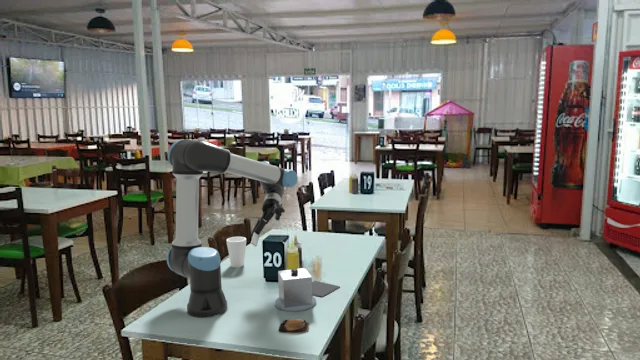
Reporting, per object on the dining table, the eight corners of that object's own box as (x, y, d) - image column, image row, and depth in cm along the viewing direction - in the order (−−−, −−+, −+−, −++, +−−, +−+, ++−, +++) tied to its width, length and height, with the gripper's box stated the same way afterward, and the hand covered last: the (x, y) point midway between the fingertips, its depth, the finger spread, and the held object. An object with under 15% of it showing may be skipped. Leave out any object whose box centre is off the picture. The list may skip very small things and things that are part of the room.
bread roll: (309, 324, 182) (309, 314, 182) (308, 334, 174) (308, 324, 173) (280, 324, 182) (279, 314, 182) (277, 334, 174) (277, 324, 174)
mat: (322, 297, 205) (322, 296, 205) (296, 290, 212) (296, 290, 212) (339, 287, 215) (339, 286, 215) (315, 281, 223) (315, 280, 223)
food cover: (312, 304, 195) (311, 272, 193) (284, 307, 193) (283, 276, 191) (305, 294, 206) (304, 264, 204) (279, 297, 203) (277, 267, 201)
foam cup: (249, 262, 252) (248, 236, 250) (244, 268, 242) (243, 242, 240) (230, 262, 253) (229, 236, 250) (225, 268, 243) (224, 241, 241)
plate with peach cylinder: (299, 315, 188) (298, 303, 188) (266, 305, 198) (266, 294, 197) (323, 300, 201) (323, 289, 201) (292, 292, 210) (291, 281, 210)
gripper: (296, 193, 218) (291, 222, 200) (260, 226, 228) (252, 257, 210) (283, 182, 215) (276, 211, 197) (247, 216, 226) (238, 247, 208)
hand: (264, 235), depth 204 cm, fingers open, 13 cm apart
